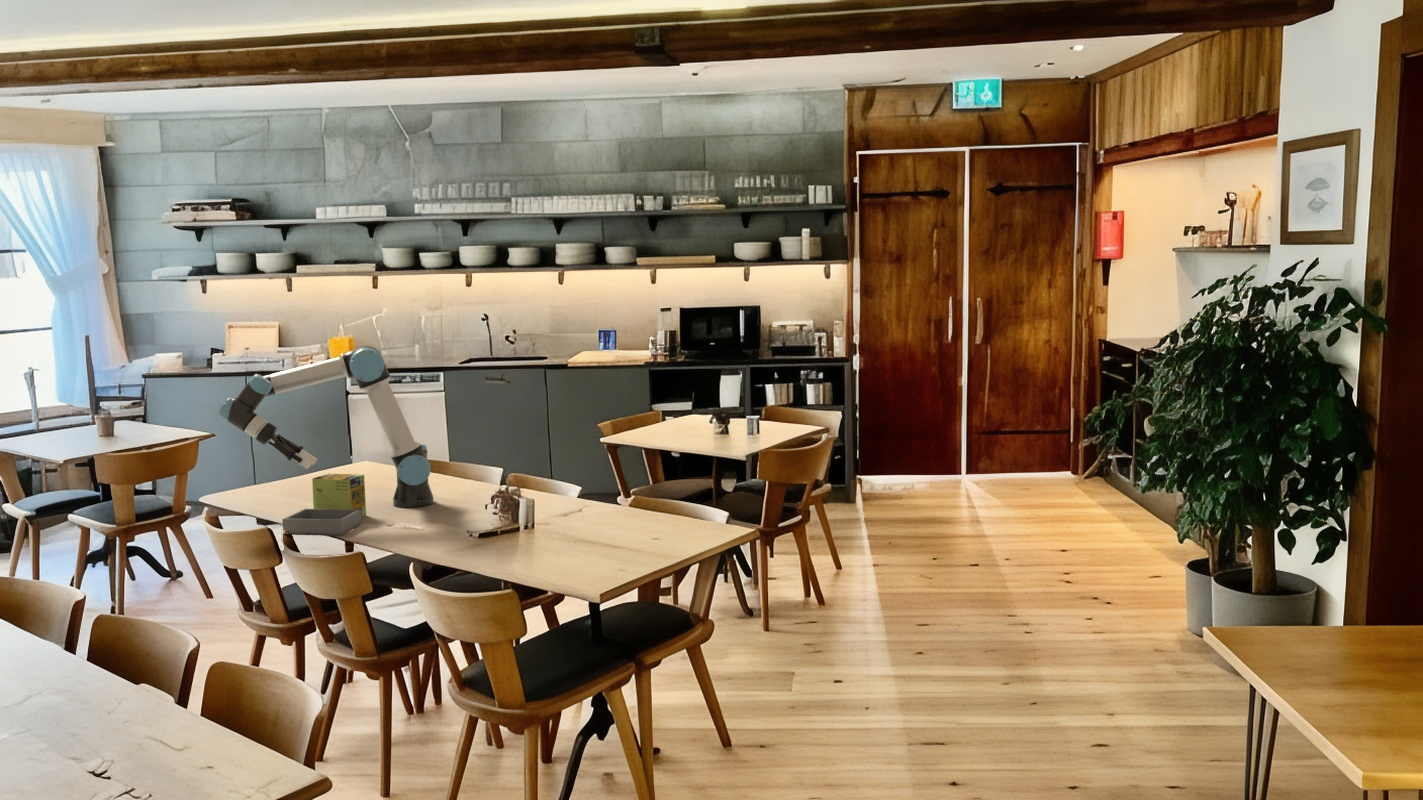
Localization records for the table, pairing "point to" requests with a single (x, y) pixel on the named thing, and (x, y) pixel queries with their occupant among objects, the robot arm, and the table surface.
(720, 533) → the table surface
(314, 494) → the protein box
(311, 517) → the tray
